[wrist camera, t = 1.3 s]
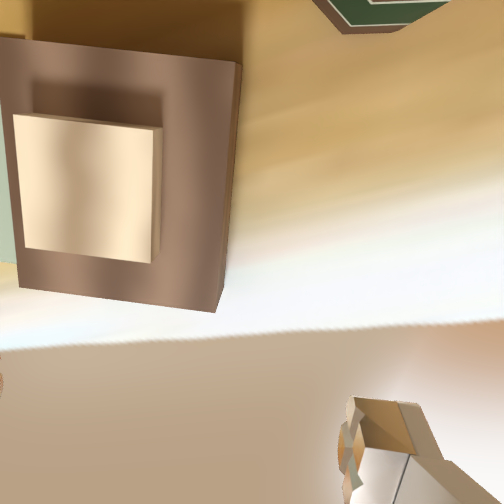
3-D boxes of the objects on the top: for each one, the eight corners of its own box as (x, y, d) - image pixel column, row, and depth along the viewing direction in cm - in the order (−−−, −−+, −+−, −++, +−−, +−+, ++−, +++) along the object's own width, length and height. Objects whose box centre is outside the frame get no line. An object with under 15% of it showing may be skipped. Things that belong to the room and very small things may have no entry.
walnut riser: (242, 65, 28) (235, 61, 24) (223, 288, 33) (215, 312, 30) (32, 43, 28) (-7, 35, 24) (49, 265, 34) (19, 287, 30)
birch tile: (162, 127, 26) (152, 130, 24) (159, 252, 28) (150, 263, 26) (33, 112, 26) (13, 114, 24) (42, 237, 29) (25, 247, 27)
